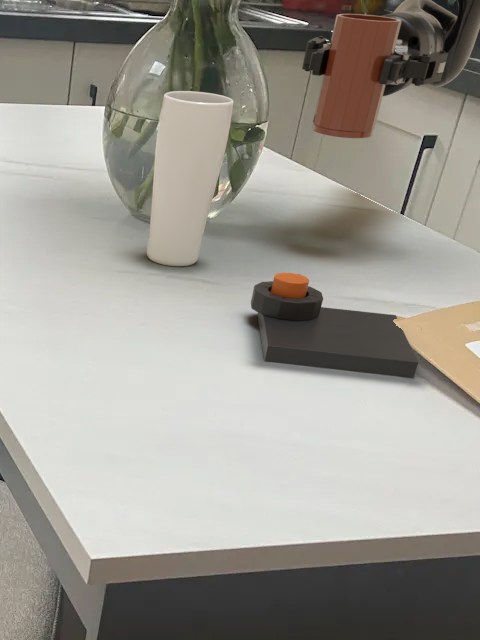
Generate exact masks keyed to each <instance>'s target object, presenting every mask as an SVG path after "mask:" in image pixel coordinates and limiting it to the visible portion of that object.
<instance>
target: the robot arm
mask: <svg viewBox="0 0 480 640" xmlns="http://www.w3.org/2000/svg"><path fill="white" fill-rule="evenodd" d="M456 1H457V5H458V6H457V7H458V10H457V15H456V14H454V13H452V12H451V11H449V10H448V9H446V8H444V7H443V6H442V5H439V4H438V3H436V2H435V1H433V0H404V1H402V2H401V3H400V4H399V5H398V6H397V7H396V8H395V10H394V11H393V12H391V13H387V14H383V15H381V16H383V17H390V18H395V19H400V20H401V21H402V22H401V26H400V30H399V34H398V38H397V42H396V46H395V50H394V54H393V56H390V57H387V58H386V59H385V62H384V65H383V69H382V73H381V77H380V82H379V84H384V85H385V89H384V93H383V97H387V96H390V95H392V94H395V93H397V92H400V91H402V90H404V89H407V88H408V87H410V86H412V85H414V86H416V87H420V86H423V85H428V86H430V87H432V88H440V87H443V86H445V85H447V84H449V83H451V82H452V81H454V80H455V79H456V78H457V77H458V76H459V75H460V73H461V72H462V71H463V70H464V68H465V67H466V65H467V63H468V61H469V59H470V57H471V54H472V52H473V49H474V47H475V43H476V40H477V37H478V34H479V32H480V0H456ZM330 43H331V42H330V39H327V38H326V37H324V36H321V35H320V36H319V35H318V37H317V36H316V37H314V38H312V39H309V40H308V41H307V44H306V48H305V52H304V57H303V62H302V65H301V70H304V72H311V75H312V76H317V77H321V76H323V75H324V70H325V66H326V61H327V57H328V52H329V47H330Z"/></svg>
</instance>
